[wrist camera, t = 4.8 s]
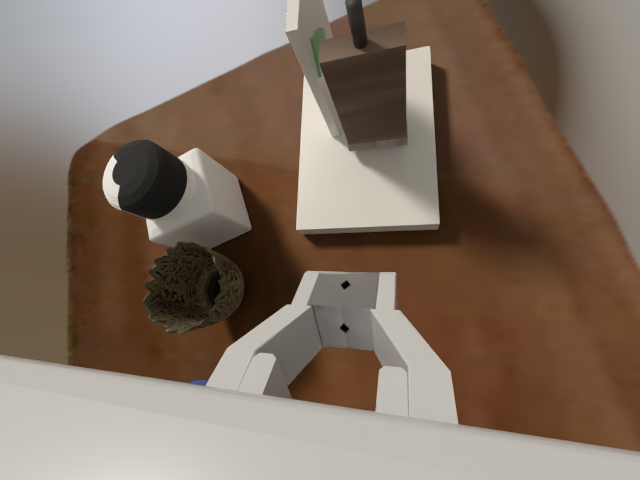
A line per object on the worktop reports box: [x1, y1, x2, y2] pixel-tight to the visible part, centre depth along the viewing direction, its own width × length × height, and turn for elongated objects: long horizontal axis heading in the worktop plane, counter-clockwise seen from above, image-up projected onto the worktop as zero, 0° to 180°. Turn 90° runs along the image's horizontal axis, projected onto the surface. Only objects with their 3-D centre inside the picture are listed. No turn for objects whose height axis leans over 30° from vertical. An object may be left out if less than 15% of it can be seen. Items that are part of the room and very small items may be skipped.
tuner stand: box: [286, 0, 440, 234], centre depth 23 cm, size 18×13×14 cm
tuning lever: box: [319, 0, 408, 151], centre depth 21 cm, size 2×5×14 cm, turn 88°
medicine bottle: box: [103, 140, 251, 249], centre depth 28 cm, size 7×7×12 cm
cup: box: [143, 242, 246, 334], centre depth 27 cm, size 8×7×8 cm
